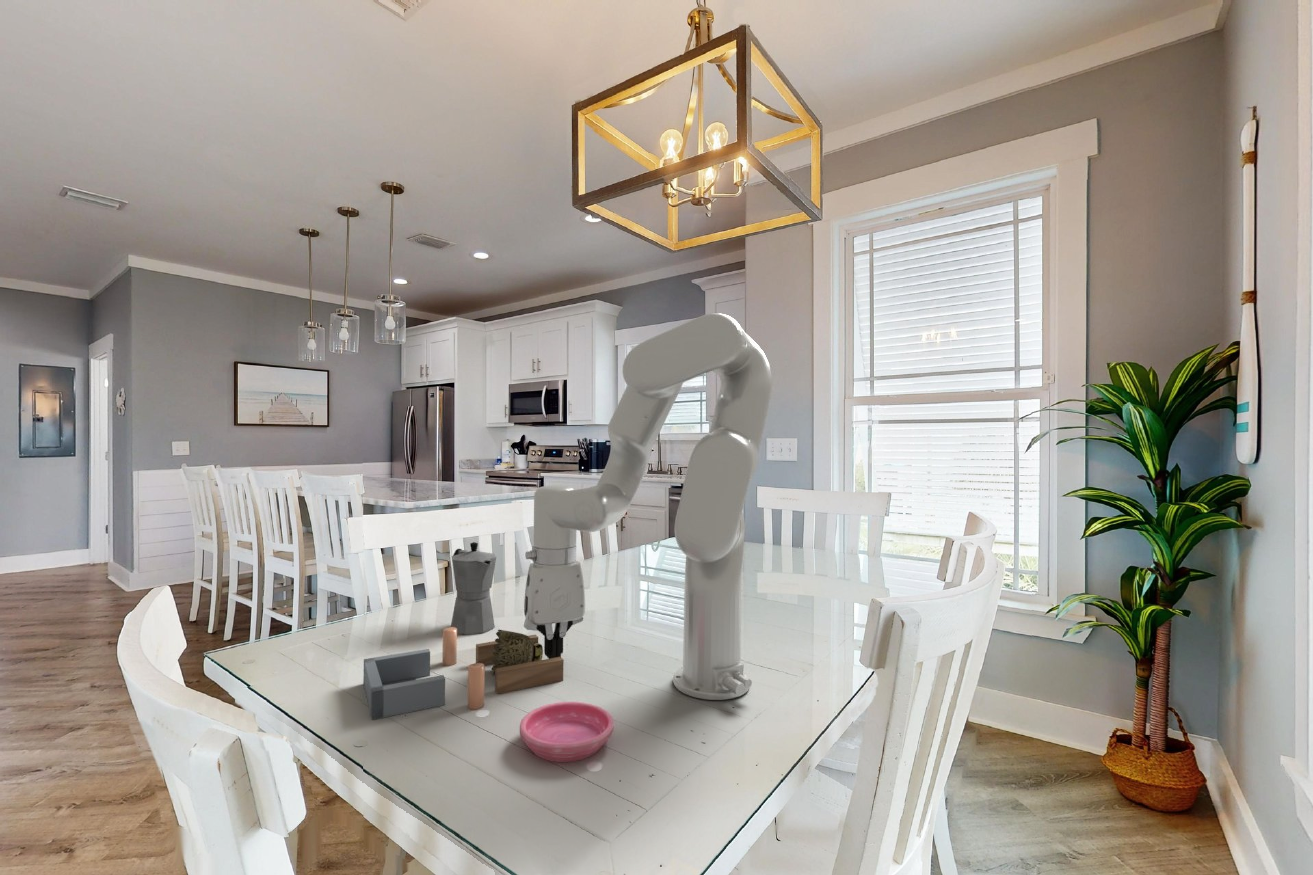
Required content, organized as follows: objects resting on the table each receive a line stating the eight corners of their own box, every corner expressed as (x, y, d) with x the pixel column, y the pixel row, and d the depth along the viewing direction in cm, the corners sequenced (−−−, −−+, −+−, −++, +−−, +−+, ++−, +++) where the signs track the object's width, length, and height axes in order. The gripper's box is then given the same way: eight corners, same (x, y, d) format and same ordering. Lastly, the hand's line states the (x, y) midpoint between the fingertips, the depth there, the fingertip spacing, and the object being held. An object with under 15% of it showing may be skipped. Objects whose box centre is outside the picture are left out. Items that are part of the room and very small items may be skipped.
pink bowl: (569, 713, 89) (570, 692, 89) (632, 742, 81) (632, 718, 81) (499, 746, 79) (500, 722, 79) (563, 782, 72) (563, 756, 72)
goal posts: (485, 707, 90) (486, 667, 90) (469, 710, 89) (470, 670, 89) (454, 659, 108) (455, 626, 108) (441, 661, 107) (441, 628, 107)
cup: (535, 672, 107) (489, 670, 105) (540, 629, 109) (495, 626, 106) (541, 681, 100) (493, 679, 98) (547, 635, 102) (500, 632, 99)
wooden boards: (563, 680, 100) (563, 659, 100) (497, 693, 95) (497, 671, 95) (535, 653, 112) (535, 634, 112) (475, 663, 107) (476, 644, 107)
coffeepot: (508, 630, 125) (510, 544, 124) (466, 641, 118) (467, 549, 118) (473, 613, 136) (475, 534, 136) (433, 622, 129) (434, 538, 129)
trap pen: (444, 704, 91) (445, 678, 91) (371, 719, 85) (372, 691, 85) (428, 672, 103) (428, 648, 103) (363, 683, 98) (363, 659, 98)
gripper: (519, 563, 100) (518, 673, 100) (602, 555, 107) (600, 658, 107) (507, 555, 106) (506, 658, 106) (585, 548, 114) (584, 645, 114)
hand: (553, 658), depth 107 cm, fingers closed
